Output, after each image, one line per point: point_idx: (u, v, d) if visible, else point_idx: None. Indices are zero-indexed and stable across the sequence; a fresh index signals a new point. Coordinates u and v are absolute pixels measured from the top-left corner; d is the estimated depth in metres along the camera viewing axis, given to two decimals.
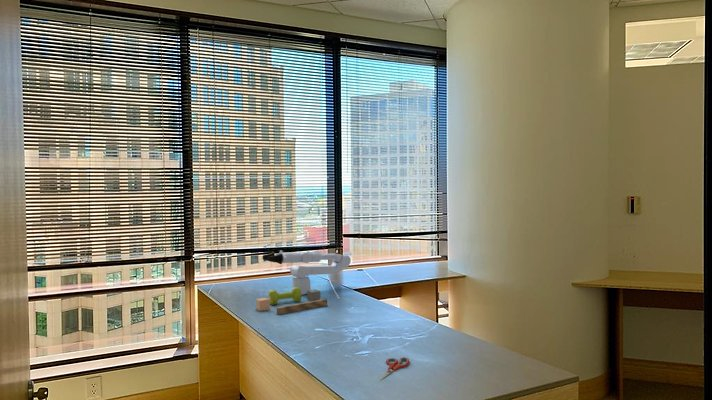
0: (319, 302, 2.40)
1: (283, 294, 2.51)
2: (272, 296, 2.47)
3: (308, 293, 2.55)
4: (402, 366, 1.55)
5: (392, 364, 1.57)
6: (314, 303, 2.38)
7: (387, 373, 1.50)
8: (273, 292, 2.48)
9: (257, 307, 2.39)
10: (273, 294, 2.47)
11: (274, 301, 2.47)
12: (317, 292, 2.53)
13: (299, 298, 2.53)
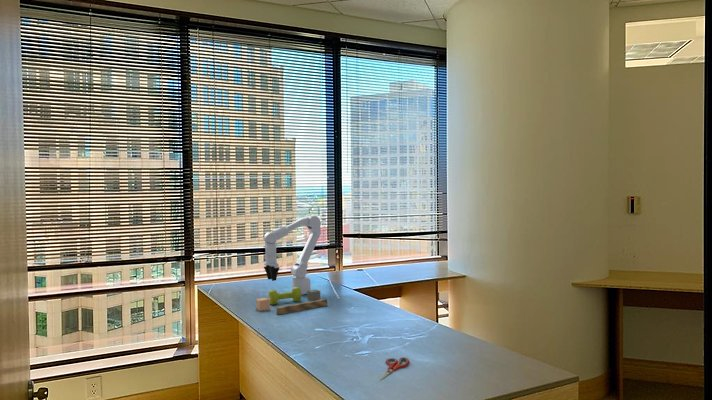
0: (319, 302, 2.40)
1: (283, 294, 2.51)
2: (272, 296, 2.47)
3: (308, 293, 2.55)
4: (402, 366, 1.55)
5: (392, 364, 1.57)
6: (314, 303, 2.38)
7: (387, 373, 1.50)
8: (273, 292, 2.48)
9: (257, 307, 2.39)
10: (273, 294, 2.47)
11: (274, 301, 2.47)
12: (317, 292, 2.53)
13: (299, 298, 2.53)
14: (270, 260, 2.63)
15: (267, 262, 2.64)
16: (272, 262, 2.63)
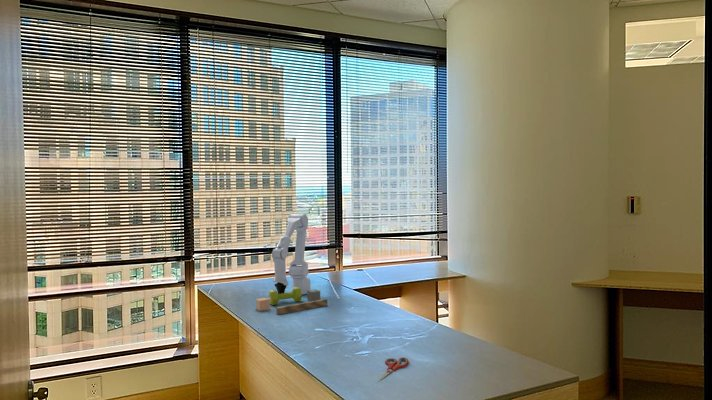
0: (319, 302, 2.40)
1: (283, 294, 2.51)
2: (272, 296, 2.46)
3: (308, 293, 2.55)
4: (401, 366, 1.55)
5: (391, 364, 1.57)
6: (314, 303, 2.38)
7: (386, 373, 1.50)
8: (273, 292, 2.47)
9: (257, 307, 2.39)
10: (273, 294, 2.46)
11: (275, 301, 2.46)
12: (317, 292, 2.53)
13: (299, 298, 2.52)
14: (279, 277, 2.54)
15: (276, 279, 2.54)
16: (281, 279, 2.54)
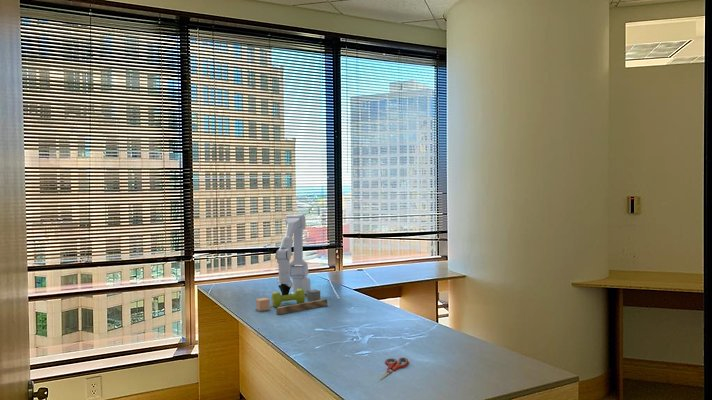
0: (319, 302, 2.40)
1: (286, 296, 2.46)
2: (275, 298, 2.41)
3: (308, 293, 2.55)
4: (401, 366, 1.55)
5: (391, 364, 1.57)
6: (314, 303, 2.38)
7: (386, 373, 1.50)
8: (276, 294, 2.42)
9: (257, 307, 2.39)
10: (276, 296, 2.42)
11: (278, 303, 2.42)
12: (317, 292, 2.53)
13: (303, 300, 2.48)
14: (283, 278, 2.49)
15: (280, 280, 2.50)
16: (286, 280, 2.49)
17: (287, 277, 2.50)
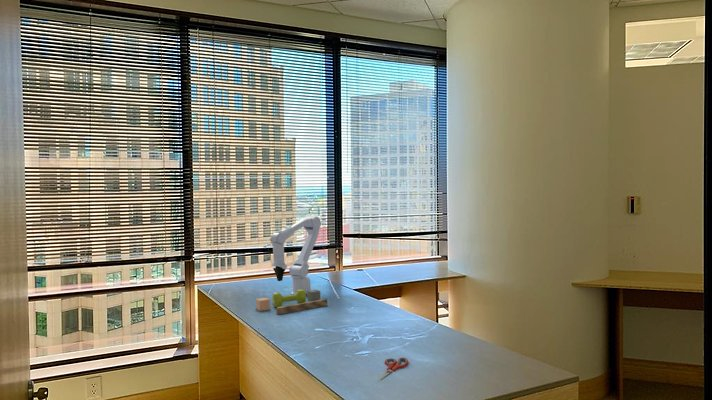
0: (319, 302, 2.40)
1: (287, 297, 2.45)
2: (276, 299, 2.40)
3: (308, 293, 2.55)
4: (401, 366, 1.55)
5: (391, 364, 1.57)
6: (314, 303, 2.38)
7: (386, 373, 1.50)
8: (277, 295, 2.41)
9: (257, 307, 2.39)
10: (277, 297, 2.41)
11: (279, 304, 2.41)
12: (317, 292, 2.53)
13: (304, 301, 2.46)
14: (278, 261, 2.60)
15: (275, 263, 2.60)
16: (280, 263, 2.60)
17: (281, 260, 2.60)
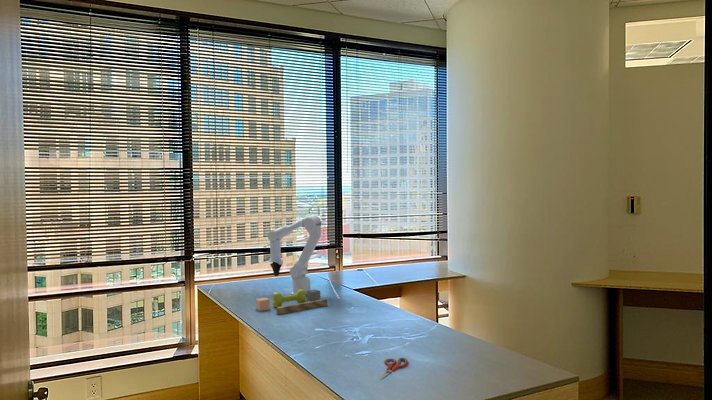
0: (319, 302, 2.40)
1: (287, 297, 2.45)
2: (276, 299, 2.40)
3: (308, 293, 2.55)
4: (401, 366, 1.55)
5: (391, 364, 1.56)
6: (314, 303, 2.38)
7: (386, 374, 1.50)
8: (277, 295, 2.41)
9: (257, 307, 2.39)
10: (277, 297, 2.41)
11: (279, 304, 2.41)
12: (317, 292, 2.53)
13: (304, 301, 2.46)
14: (275, 257, 2.75)
15: (272, 259, 2.76)
16: (277, 259, 2.75)
17: (278, 256, 2.76)
